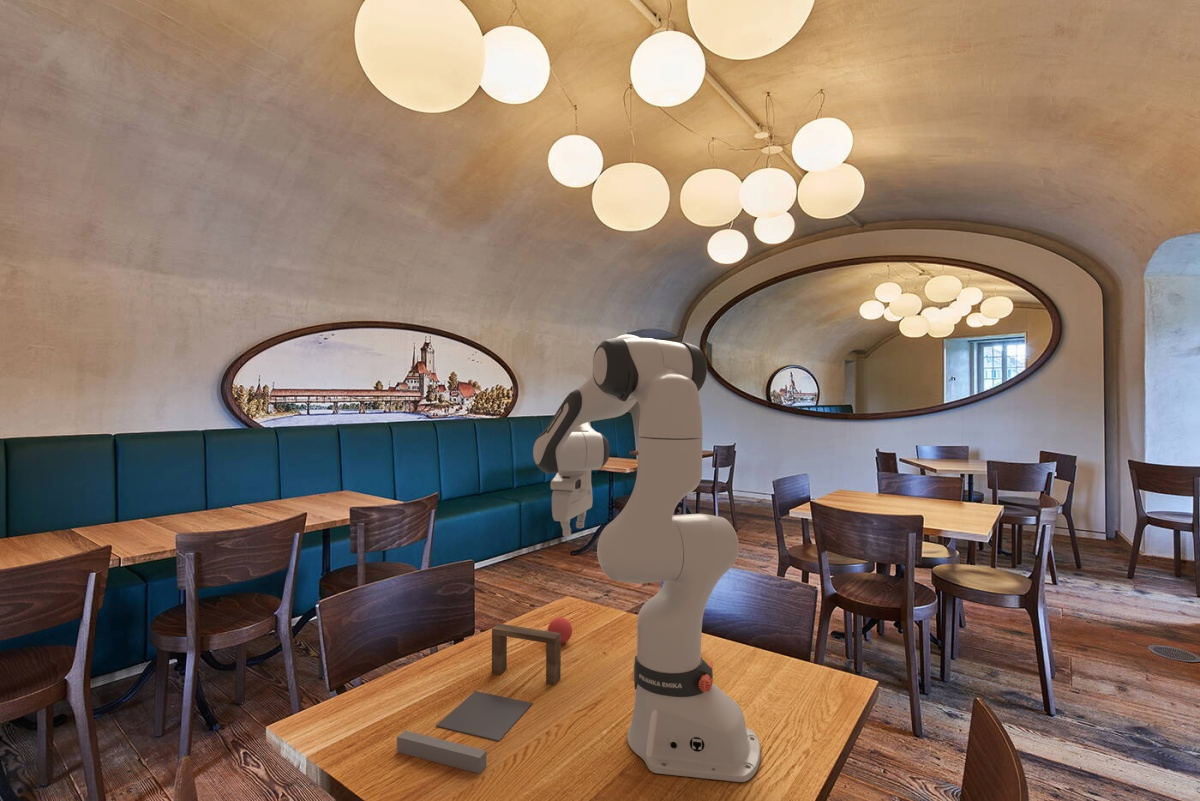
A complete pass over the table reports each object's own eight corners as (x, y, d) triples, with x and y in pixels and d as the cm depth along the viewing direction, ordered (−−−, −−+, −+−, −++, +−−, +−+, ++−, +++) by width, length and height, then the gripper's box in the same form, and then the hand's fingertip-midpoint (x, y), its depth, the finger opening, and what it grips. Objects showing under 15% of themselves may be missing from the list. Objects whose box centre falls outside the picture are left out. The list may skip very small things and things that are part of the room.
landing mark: (532, 703, 109) (532, 702, 109) (498, 741, 97) (498, 740, 97) (475, 691, 113) (475, 690, 113) (435, 726, 101) (435, 725, 101)
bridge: (498, 667, 124) (499, 623, 124) (560, 678, 119) (560, 633, 119) (491, 673, 121) (491, 628, 121) (554, 685, 116) (554, 638, 116)
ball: (575, 639, 139) (576, 615, 139) (566, 649, 133) (566, 624, 133) (553, 636, 141) (554, 612, 141) (543, 645, 135) (543, 621, 135)
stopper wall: (486, 766, 90) (486, 750, 90) (479, 773, 88) (479, 757, 88) (404, 745, 95) (405, 730, 95) (397, 751, 94) (397, 736, 94)
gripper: (577, 473, 156) (576, 522, 156) (547, 483, 137) (546, 539, 137) (598, 474, 154) (597, 524, 154) (571, 485, 135) (570, 542, 135)
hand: (573, 531), depth 145 cm, fingers open, 8 cm apart
